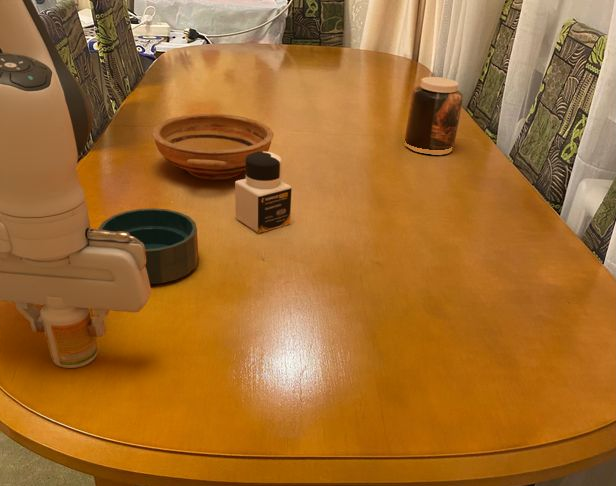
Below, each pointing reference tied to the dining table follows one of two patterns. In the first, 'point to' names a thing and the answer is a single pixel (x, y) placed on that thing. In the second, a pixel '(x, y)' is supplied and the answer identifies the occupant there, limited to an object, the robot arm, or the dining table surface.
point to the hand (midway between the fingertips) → (69, 331)
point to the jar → (434, 114)
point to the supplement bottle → (68, 333)
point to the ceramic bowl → (211, 143)
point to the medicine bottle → (263, 193)
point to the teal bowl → (160, 240)
